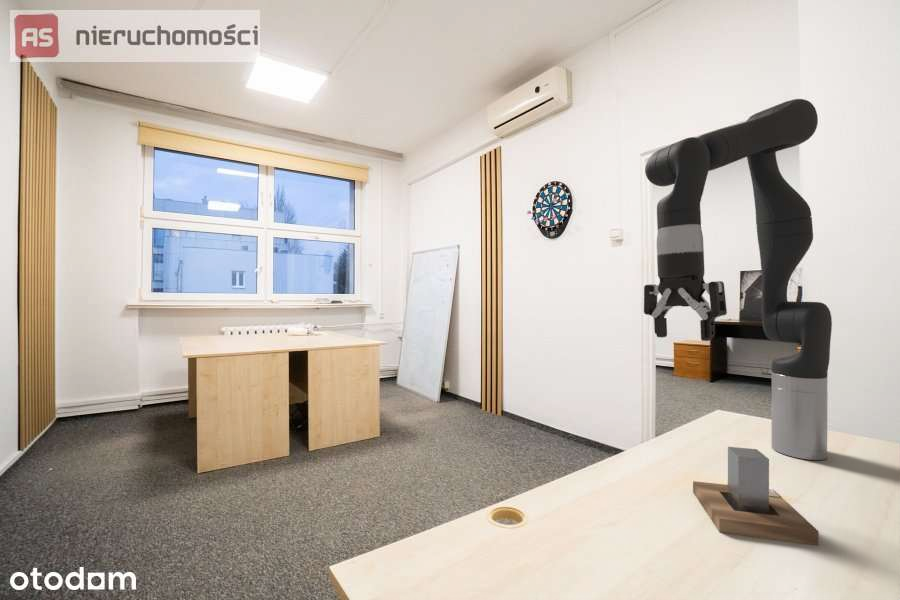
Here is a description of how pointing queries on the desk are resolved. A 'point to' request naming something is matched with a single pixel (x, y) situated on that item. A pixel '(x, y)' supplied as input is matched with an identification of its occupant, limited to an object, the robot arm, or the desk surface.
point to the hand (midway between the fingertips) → (683, 338)
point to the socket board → (755, 516)
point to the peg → (748, 480)
